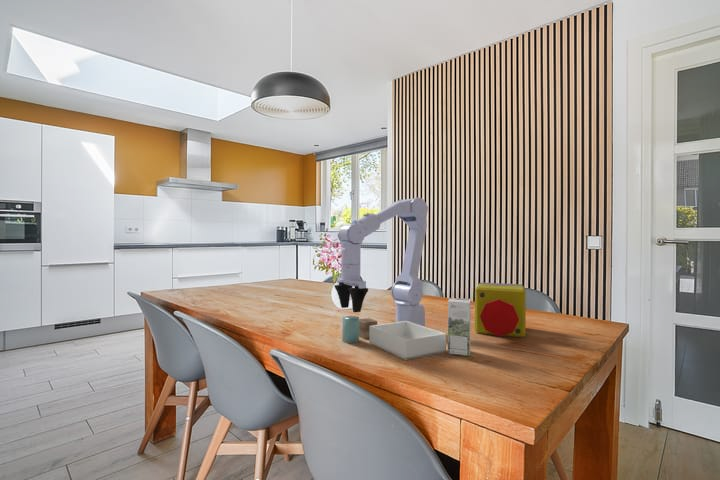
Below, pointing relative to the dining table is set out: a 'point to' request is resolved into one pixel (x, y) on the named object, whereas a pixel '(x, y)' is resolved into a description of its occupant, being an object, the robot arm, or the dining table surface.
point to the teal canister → (350, 329)
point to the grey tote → (407, 339)
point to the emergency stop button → (500, 309)
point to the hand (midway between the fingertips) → (350, 309)
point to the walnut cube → (365, 327)
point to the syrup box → (459, 326)
